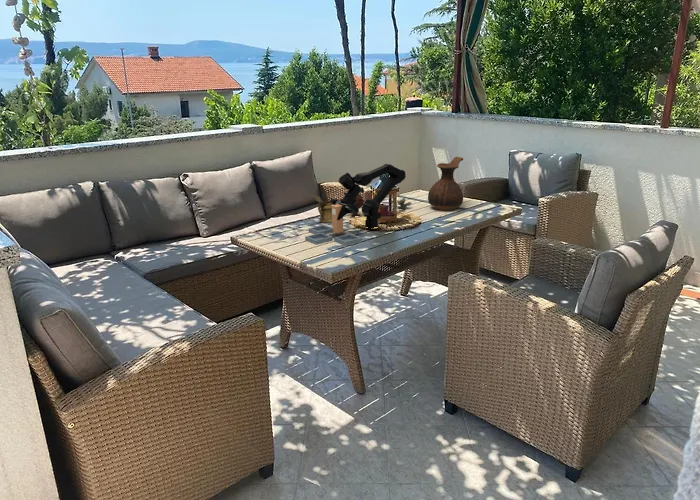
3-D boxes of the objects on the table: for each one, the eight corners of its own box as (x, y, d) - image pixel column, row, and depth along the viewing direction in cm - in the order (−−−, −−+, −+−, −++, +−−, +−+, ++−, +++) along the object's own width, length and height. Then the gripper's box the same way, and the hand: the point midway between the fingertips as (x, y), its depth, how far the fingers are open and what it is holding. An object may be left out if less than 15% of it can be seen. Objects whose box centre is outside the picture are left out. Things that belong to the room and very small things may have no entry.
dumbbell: (382, 217, 331) (379, 200, 330) (404, 213, 347) (401, 197, 347) (394, 214, 325) (391, 198, 324) (416, 211, 341) (413, 195, 341)
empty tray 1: (324, 229, 303) (323, 224, 303) (334, 233, 296) (334, 228, 295) (308, 232, 298) (308, 228, 297) (319, 236, 290) (318, 232, 289)
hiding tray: (321, 237, 289) (321, 232, 288) (332, 241, 281) (332, 236, 281) (305, 241, 283) (305, 236, 283) (316, 245, 276) (316, 240, 275)
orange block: (339, 230, 291) (337, 204, 287) (343, 231, 288) (342, 205, 284) (332, 231, 289) (331, 205, 284) (337, 233, 286) (335, 206, 281)
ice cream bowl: (352, 219, 321) (351, 194, 317) (343, 215, 331) (342, 190, 326) (368, 216, 326) (367, 191, 321) (359, 213, 336) (358, 188, 331)
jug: (466, 212, 330) (468, 161, 320) (430, 213, 330) (431, 162, 321) (460, 203, 350) (461, 155, 341) (426, 204, 351) (426, 156, 341)
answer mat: (340, 233, 295) (340, 232, 295) (350, 236, 288) (350, 235, 288) (326, 236, 290) (326, 235, 290) (336, 240, 283) (336, 239, 283)
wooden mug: (310, 223, 317) (308, 192, 311) (327, 218, 326) (326, 188, 320) (320, 225, 311) (319, 194, 305) (338, 221, 319) (337, 190, 314)
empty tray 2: (350, 238, 285) (349, 233, 285) (362, 242, 278) (362, 237, 277) (334, 242, 280) (334, 237, 279) (346, 246, 272) (345, 242, 271)
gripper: (371, 206, 286) (355, 231, 283) (350, 200, 300) (334, 224, 297) (359, 194, 279) (342, 219, 276) (337, 188, 293) (321, 212, 291)
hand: (335, 219), depth 285 cm, fingers closed on orange block, 4 cm apart
